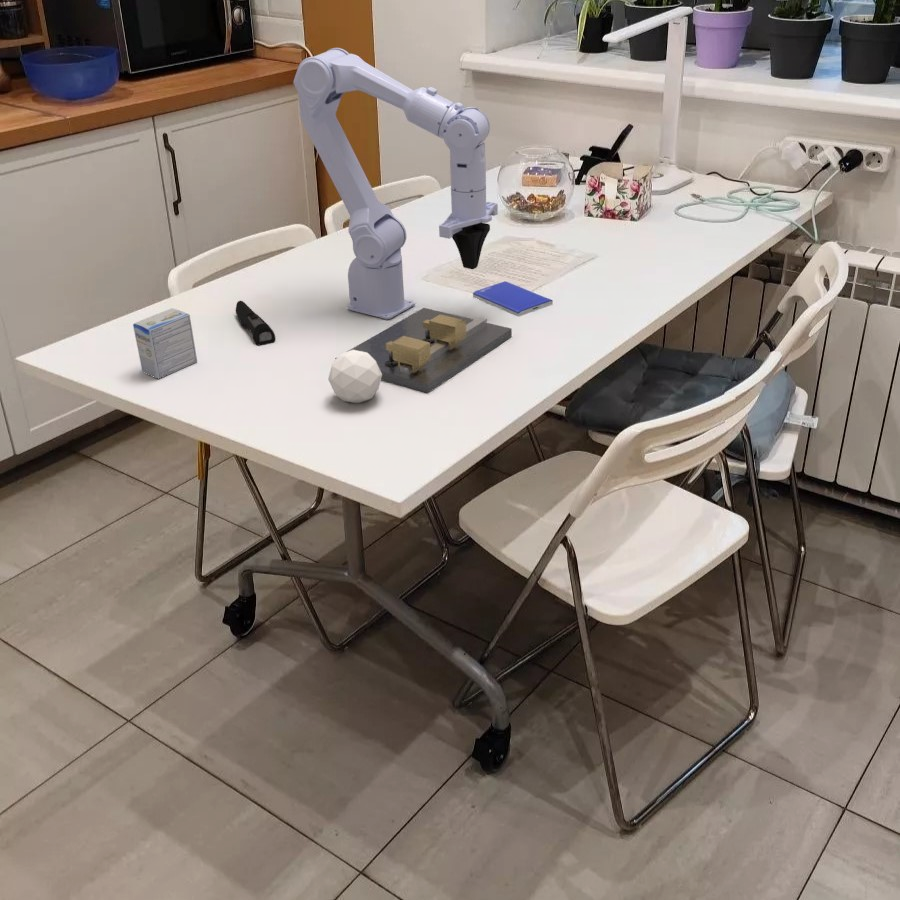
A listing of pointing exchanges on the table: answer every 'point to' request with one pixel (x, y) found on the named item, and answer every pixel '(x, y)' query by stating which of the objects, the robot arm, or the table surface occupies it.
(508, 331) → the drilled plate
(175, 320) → the medicine box
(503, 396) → the table surface
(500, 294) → the hard drive
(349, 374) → the ball
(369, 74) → the robot arm
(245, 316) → the electric trimmer
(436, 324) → the block
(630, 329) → the table surface
